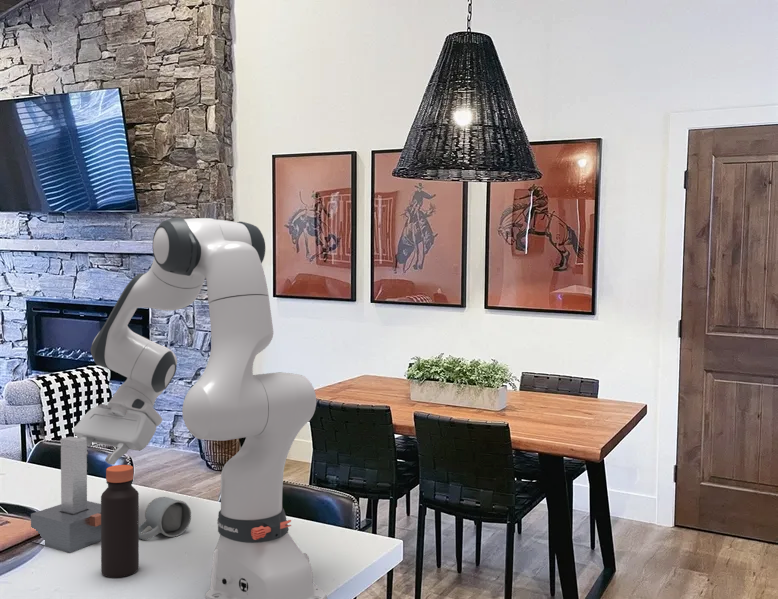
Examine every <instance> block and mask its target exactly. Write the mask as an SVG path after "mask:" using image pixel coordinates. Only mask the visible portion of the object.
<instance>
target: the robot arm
mask: <svg viewBox="0 0 778 599" xmlns="http://www.w3.org/2000/svg"><path fill="white" fill-rule="evenodd" d="M265 241H266V240H265V237H264V235H263V233H262V231H261V230H260V229H259V227H258V226H256V225H254V224H251V223H247V222H245V221H231V220H225V219H224V220H223V219H215V218H212V217H210V218H209V217H207V218H206V217H199V218H197V217H196V218H195V217H194V218H182V217H177V218H176V217H175V218H170V219H165V220H163V221H161V222H160V223H159V225H158V226H157V227H156V229H155V231H154V233H153V237H152V254H153V257H154V258H153V259H152V260H153V261H152V264H151V266H150V269H149V270H148V271H147V272H146V273H145V272H141V273H137V275H134V277H133V278H132V279H131V280H130V281H129V282H128V283H127V285H126V286H125V288H124V289H123V290H122V293H121V294H120V296H119V298H118V299H117V301H116V303H115V305H114V306H113V308H112V311H110V314H109V316H108V317H107V319H106V321H105V323H104V325H103V326H102V328H101V329H100V331H98V333H97V335H96V336H95V337H94V339H93V341H92V343H91V346H90V353H91V354H90V355H91V356H92V359H93V361H94V364H96V365H97V366H99V367H102V368H104V369H107V370H109V371H113V372H115V373H118V374H119V375H121V376H123V377H125V378H126V380H125V381H124V382H123V383H122V384H121V385H120V386H119V387H118V389H116V391H115V393H114V394H113V396H112V397H111V398H110V399H109V401H108V403H107V404H104V403H100V404H98V405H97V406H93V407H92V408H90V409H89V410H88V411H87V412H86V413H85V414H84V415H83V417H82V418H81V419H80V420H79V421H78V423H76V425H74V426H75V427H74V428H73V434H74V435H75V436H76V438H81V439H87V448H88V447H90V446H91V445H92V443H94V444H100V445H105V446H110V447H115V448H116V449H115V450H114V451H113V452H110V453H108V455H107V456H106V457H105V458H104V459H105V462H106V463H107V465H108V464H109V465H111V466H115V464H116V463H117V461H118V460H119V459H120V458H121V457H124V456H125V455H126V454H127V453H128V451H129V450H132V451H137V452H140V451H143V450H144V449H145V448H147V446H148V445H149V443H150V442H151V440H152V439H153V437H154V435H155V433H156V431H157V427H158V426H160V425H161V423H162V422H163V418H162V417H161V415H160V414H159V413H158V411H157V410H156V409H155V408H154V406H155V402H156V400H157V398H158V397H159V396H160V395H162V393H163V392H164V390H166V389H167V388H168V386H169V385H170V383H171V382H172V380H173V379H174V377H175V375H176V372H177V364H178V359H177V355H176V354H175V352H174V351H173V350H171V349H170V348H169V347H166V346H164V345H161V344H158V343H157V342H154V341H152V340H150V339H149V338H147V337H145V336H142V335H140V334H138V333H136V332H134V331H133V330H132V329H131V328H130V327H129V326H128V325H129V323H130V321H131V319H132V318H133V316H134V314H135V312H136V311H137V310H138V309H140V308H144V309H145V308H147V309H153V310H154V309H155V310H159V311H168V312H170V311H178V310H182V309H184V308H187V307H188V306H191V304H193V303H194V302H195V300H197V298H198V296H199V294H200V292H201V290H202V289H203V285H204V283H205V280H206V287H207V288H206V289H207V290H206V291H207V302H208V309H209V310H208V312H209V323H210V334H211V336H210V337H211V338H210V339H211V345H210V346H211V347H210V352H209V358H208V361H207V364H206V366H205V368H204V371H203V373H202V374H201V376H200V378H199V379H198V380H197V381H196V383H194V384H193V385H192V386H191V387H190V388H189V389H188V391H187V393H186V395H185V396H184V399H183V402H182V408H181V409H182V410H181V411H182V419H183V422H184V424H185V427H186V429H187V430H188V432H190V434H191V435H192V436H193V437H194V438H196V439H198V440H206V441H220V442H221V441H229V440H235V439H236V440H237V439H242V438H243V439H244V438H245V440H244V442H243V444H242V446H241V447H240V449H239V451H237V453H236V454H234V455H233V456H232V457H231V458H229V459H228V461H226V463H225V464H224V465H223V467H222V470H221V472H220V509H219V511H218V516H217V532H218V533H219V538H218V542H217V544H216V547H215V549H214V551H213V554H212V566H211V575H210V587H209V590H207V591H206V593H205V596H204V599H328V594H327V592H326V591H325V590H323V589H322V588H320V587H319V585H317V584H315V583H314V573H313V568H312V564H311V563H310V557H309V555H308V553H306V552H302V550H301V549H300V548H299V546H298V545H297V543H296V542H295V541H294V539H293V537H292V536H291V535H290V533H289V527H291V526H292V525H291V524H289V523H291V522H292V519H288V520H287V515H286V512H285V509H284V508H283V484H284V482H283V481H284V471H285V466H286V461H287V458H288V456H289V452H290V450H291V448H292V446H293V443H294V442H295V439H296V438H297V436H298V434H299V433H300V431H301V430H302V429H303V428H304V426H306V425H307V423H309V422H310V421H311V419H312V418H313V416H314V414H315V411H316V407H317V395H316V390H315V388H314V386H313V384H312V383H311V380H309V378H307V377H306V376H305V375H302V374H297V373H290V372H283V371H281V372H270V373H269V372H268V373H260V374H254V373H253V372H254V370H253V369H254V368H253V367H254V362H255V359H256V356H257V355H258V354H260V353H261V352H263V351H264V350H265V349H266V348H267V347H268V346H269V345H270V344H271V342H272V340H273V337H274V327H273V319H272V311H271V303H270V296H269V290H268V284H267V279H266V275H265V272H264V268H263V262H264V260H265V256H266V242H265ZM88 454H89V452H88V451H87V455H88Z"/></svg>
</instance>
